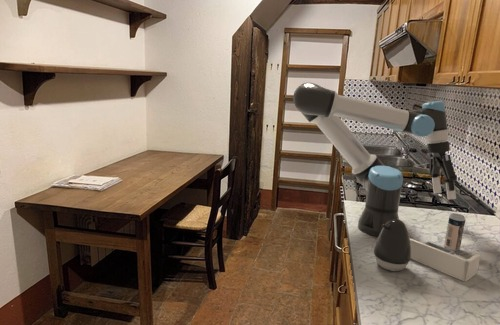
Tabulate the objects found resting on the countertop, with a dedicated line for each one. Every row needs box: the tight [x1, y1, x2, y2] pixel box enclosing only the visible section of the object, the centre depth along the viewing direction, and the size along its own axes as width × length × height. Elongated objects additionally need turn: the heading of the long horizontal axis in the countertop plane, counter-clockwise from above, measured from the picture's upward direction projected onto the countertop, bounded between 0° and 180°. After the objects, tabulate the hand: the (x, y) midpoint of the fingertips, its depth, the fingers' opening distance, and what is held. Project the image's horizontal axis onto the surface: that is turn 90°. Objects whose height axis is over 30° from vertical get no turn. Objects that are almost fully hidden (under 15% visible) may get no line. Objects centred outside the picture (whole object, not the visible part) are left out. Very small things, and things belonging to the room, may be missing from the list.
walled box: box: [409, 237, 481, 282], centre depth 113 cm, size 11×24×6 cm, turn 38°
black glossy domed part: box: [373, 218, 412, 272], centre depth 106 cm, size 10×10×15 cm
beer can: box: [443, 212, 466, 252], centre depth 121 cm, size 5×5×12 cm
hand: (444, 196), depth 139 cm, fingers open, 13 cm apart
